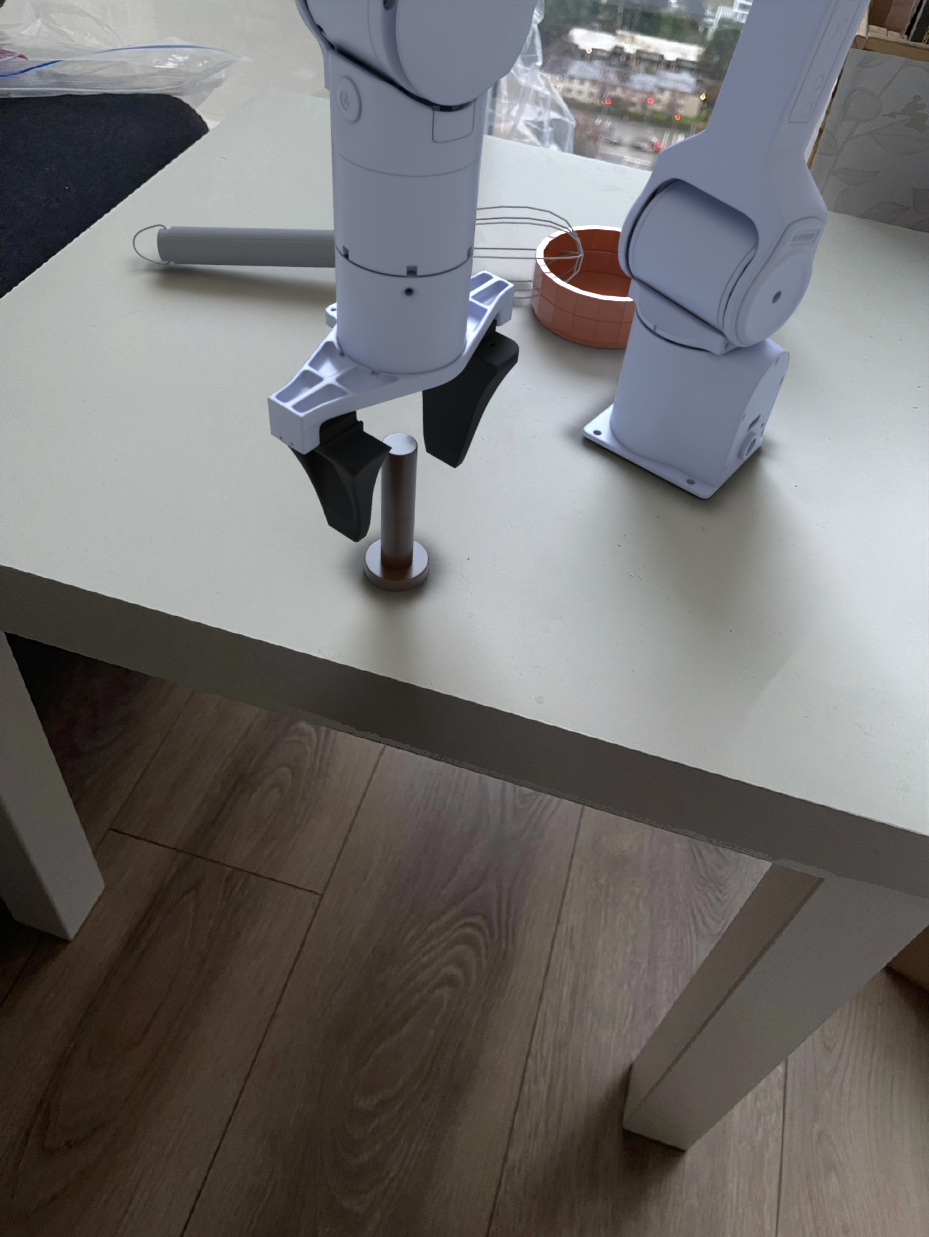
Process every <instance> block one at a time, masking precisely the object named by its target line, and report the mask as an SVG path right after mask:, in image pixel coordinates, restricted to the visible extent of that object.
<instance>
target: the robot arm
mask: <svg viewBox="0 0 929 1237" xmlns="http://www.w3.org/2000/svg"><path fill="white" fill-rule="evenodd" d="M871 1H872V0H752V2H751V5H750V8H749V10H748V13H747V15H746V18H745V21H744V23H743V27H742V30H741V32H740V35H739V37H738V41H737V43H736V46H735V49H734V51H733V54H732V56H731V60H730V62H729V64H728V68H727V71H726V73H725V76H724V79H723V81H722V84H721V87H720V89H719V92H718V95H717V98H716V101H715V103H714V106H713V109H712V112H711V114H710V117H709V120H708V122H707V125H706V127H705V128H704V129H703V130H701V131H700V132H698V133H695V134H693V135H690V136H688V137H686V138H684V139H681V140H679V141H676V142H674V143H672V144H670V145H669V146H667V147H665V148H663V149H661V150H660V152H658V154H657V157H656V160H655V162H654V166H653V169H652V171H651V174H650V176H649V178H648V180H647V181H646V184H645V186H644V187H643V189H642V191H641V193H640V194H639V196H638V197H637V198H636V199H635V201H634V202H633V204H631V207H630V208H629V210H628V212H627V214H626V215H625V218H624V221H623V223H622V226H621V234H620V239H619V246H618V259H619V264H620V266H621V268H622V270H623V271H624V273H625V274H626V275H628V276H629V277H631V278H632V279H631V284H630V289H629V293H628V297H629V298H631V299H632V300H633V301H634V302H635V304H636V308H635V312H634V317H633V321H632V325H631V330H630V334H629V338H628V343H627V347H626V348H625V352H624V356H623V360H622V365H621V368H620V374H619V377H618V378H619V379H618V383H617V387H616V391H615V396H614V400H613V403H611V404H610V405H608V407H606V409H604V410H603V411H601V413H599V414H598V415H597V416H595V417H594V418H593V419H592V420H590V422H588V423H587V424H586V425H585V426H584V427H582V436H583V437H584V438H586V439H587V440H590V441H592V442H593V443H596V444H598V445H600V446H601V447H603V448H605V449H606V450H609V451H610V452H612V453H614V454H616V455H618V456H620V457H621V458H624V459H626V460H627V461H629V462H632V463H633V464H635V465H637V466H639V467H641V468H643V469H645V470H647V471H648V472H651V473H653V474H654V475H656V476H658V477H660V478H662V479H664V480H666V481H667V482H670V483H671V484H673V485H675V486H677V487H679V488H681V489H682V490H685V491H686V492H689V493H691V494H693V495H694V496H696V497H698V498H699V499H703V500H707V499H709V498H711V497H712V496H713V495H714V494H715V493H716V492H717V491H718V490H719V489H720V488H721V487H722V486H723V484H725V483H726V481H728V480H729V479H730V478H731V476H732V475H733V474H734V473H735V472H736V471H738V469H740V468H741V466H742V465H743V464H744V463H745V462H746V461H747V460H748V459H749V458H750V457H751V456H752V455H753V454H754V453H755V452H756V451H757V450H758V449H759V448H760V446H761V445H762V444H763V442H764V437H763V434H764V431H765V429H766V427H767V424H768V421H769V419H770V416H771V413H772V411H773V408H774V406H775V403H776V401H777V398H778V396H779V393H780V390H781V388H782V385H783V382H784V379H785V378H786V377H785V376H786V374H787V371H788V369H789V364H790V351H788V350H787V349H785V348H784V347H782V346H781V345H779V344H778V343H776V342H775V341H774V340H772V339H771V338H770V337H772V336H773V335H775V333H777V332H778V331H779V330H780V329H781V328H782V327H783V326H784V325H785V324H786V323H787V322H788V321H789V320H790V318H791V317H792V316H793V314H794V313H795V311H796V310H797V309H798V307H799V306H800V304H801V302H802V301H803V298H804V296H805V294H806V292H807V290H808V287H809V284H810V282H811V279H812V274H813V265H814V260H815V256H816V253H817V251H818V250H817V249H818V247H819V243H820V240H821V238H822V236H823V233H824V231H825V228H826V225H827V223H828V220H829V219H830V216H829V215H830V214H829V211H828V209H827V208H828V207H827V206H826V203H825V201H824V199H823V197H822V194H821V193H820V190H819V188H818V186H817V184H816V182H815V180H814V178H813V175H812V173H811V171H810V169H809V166H808V164H807V161H806V158H805V152H806V150H807V147H808V146H809V143H810V141H811V139H812V136H813V134H814V132H815V129H816V128H817V125H818V123H819V120H820V118H821V116H822V113H823V111H824V108H825V107H826V105H827V102H828V100H829V97H830V95H831V93H832V90H833V88H834V86H835V84H836V82H837V78H838V77H839V74H840V72H841V70H842V67H843V66H844V63H845V60H846V58H847V56H848V53H849V51H850V49H851V47H852V44H853V42H854V40H855V37H856V36H857V33H858V31H859V28H860V27H861V24H862V22H863V19H864V18H865V15H866V13H867V10H868V9H869V8H868V7H869V5H870V3H871ZM538 2H539V0H294V4H295V7H296V10H297V11H298V13H299V16H300V18H301V19H302V21H303V23H304V25H305V26H306V28H307V29H308V31H309V32H310V33H311V34H312V36H313V37H314V38H315V39H316V41H317V43H318V45H319V47H320V51H321V54H322V59H323V78H324V82H323V83H324V88H325V89H327V90H328V91H329V116H330V119H329V120H330V146H331V147H330V149H331V152H330V153H331V179H332V181H331V183H332V184H331V185H332V208H333V209H332V210H333V211H332V216H333V217H332V218H333V230H334V240H335V268H334V269H335V270H334V272H335V273H334V274H335V276H334V277H335V302H333V303H332V304H330V305H328V306H327V307H326V308H324V318H325V319H324V320H325V325H326V326H328V328H331V330H330V331H329V332H328V333H327V335H326V336H325V337H324V338H323V340H322V341H321V342H320V343H319V345H317V347H316V348H315V350H314V351H313V352H312V353H311V354H310V356H309V357H308V358H307V360H305V362H304V363H303V365H302V366H301V367H300V368H299V369H298V371H297V372H296V373H295V375H294V376H293V377H292V378H291V379H290V380H289V381H288V382H287V383H286V384H285V385H283V386H282V387H281V388H280V389H279V390H277V391H276V392H274V393H273V394H271V395H269V396H268V397H267V408H268V417H269V428H270V430H269V431H270V435H271V436H272V437H274V438H276V439H277V440H279V441H280V442H282V443H283V444H285V445H286V446H287V447H288V448H289V450H290V451H291V452H292V453H293V455H294V456H295V458H296V459H297V461H298V462H299V463H300V465H301V466H302V469H303V470H304V471H305V473H306V475H307V477H308V479H309V481H310V483H311V485H312V487H313V489H314V491H315V493H316V495H317V498H318V500H319V503H320V505H321V509H322V511H323V514H324V517H325V520H326V522H327V525H328V526H329V528H330V527H331V529H333V530H335V531H337V532H338V533H340V534H341V535H343V536H344V537H345V538H347V539H349V540H350V541H352V542H354V543H359V542H360V541H362V540H363V539H364V538H366V537H367V535H368V533H369V530H370V527H371V521H372V511H373V510H372V509H373V508H372V507H373V498H374V497H373V496H374V490H375V487H376V486H375V485H376V482H377V479H378V476H379V473H380V471H381V466H382V464H383V462H384V460H385V458H386V456H387V455H388V453H389V452H390V450H391V449H392V447H390V446H389V445H387V444H385V443H383V442H382V440H380V439H378V438H377V437H375V436H373V435H371V434H370V433H368V432H366V431H365V429H364V428H365V427H364V421H363V420H358V418H357V417H358V412H357V411H359V410H362V409H363V410H364V409H366V408H369V407H373V406H376V405H379V404H383V403H386V402H389V401H393V400H396V399H399V398H403V397H406V396H409V395H410V396H411V395H413V394H416V393H420V392H421V399H422V401H421V402H422V437H423V442H424V443H423V444H424V447H425V448H424V449H425V452H426V453H427V454H429V455H430V456H432V457H434V458H436V459H437V460H439V461H441V462H442V463H444V464H446V465H448V466H449V467H451V468H453V469H457V468H458V467H460V465H462V464H463V462H464V460H465V459H466V456H467V454H468V452H469V449H470V447H471V444H472V442H473V440H474V437H475V434H476V431H477V429H478V428H479V424H480V423H481V420H482V418H483V415H484V413H485V411H486V409H487V407H488V405H489V403H490V402H491V400H492V398H493V396H494V395H495V393H496V391H497V390H498V388H499V387H500V385H501V384H502V382H503V381H504V380H505V378H506V377H507V376H508V374H509V373H510V372H511V370H512V369H513V368H514V367H515V366H516V365H517V364H518V362H519V356H520V346H519V344H518V342H516V341H515V340H514V339H512V338H510V337H509V336H507V335H504V334H502V333H501V332H498V331H497V327H502V326H503V325H505V324H506V323H508V322H510V321H512V316H513V308H514V300H515V299H514V297H515V289H516V284H515V283H513V282H508V281H506V280H507V279H504V278H502V277H500V276H498V275H497V274H494V273H491V272H489V271H487V270H485V269H483V270H480V271H479V272H477V273H475V274H473V266H474V265H473V263H474V258H473V256H474V252H475V249H474V247H475V238H476V237H475V236H476V226H477V225H476V223H477V221H476V219H477V213H478V212H477V211H478V210H477V208H478V201H479V200H478V199H479V191H480V190H479V189H480V178H481V166H482V155H483V154H482V153H483V145H484V134H485V124H486V111H487V110H486V109H487V98H488V90H489V89H491V88H492V87H493V86H494V85H495V84H496V83H497V82H498V81H499V80H501V79H503V78H504V77H506V76H507V75H508V74H510V72H511V71H512V69H513V68H514V67H515V64H516V62H517V61H518V59H519V57H520V55H521V53H522V51H523V48H524V47H525V44H526V42H527V38H528V37H529V36H528V35H529V32H530V30H531V27H532V22H533V18H534V14H535V11H536V7H537V5H538ZM472 274H473V275H472Z"/></svg>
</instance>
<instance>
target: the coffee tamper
mask: <svg viewBox="0 0 929 1237" xmlns="http://www.w3.org/2000/svg"><path fill="white" fill-rule="evenodd" d="M381 441H382V442H383V443H385V444H387V445H389V446H390V447H392V449H391V450H390V452H389V453H388V455H387V456H386V458H385V460H384V462H383V464H382V466H381V468H380V538H379V539H377V540H375V541H374V542H372V543H371V544H370V545H368V547H367V548H366V550H365V553H364V556H363V567H364V568H363V569H364V573H365V575H366V577H367V578H368V580H369V581H370V582H371V583H372V584H374V585H375V586H376V587H378V588H380V589H383V590H386V591H393V592H401V591H407V590H411V589H413V588H415V587H417V586H419V585H420V584H421V583H422V582H423V581H424V580H425V579H426V578H427V576H428V573H429V567H430V566H429V565H430V556H429V552H428V551H427V549H426V548H425V546H424V545H422V543H420V542H419V541H417V540H415V522H416V521H415V520H416V519H415V517H416V497H417V475H418V473H417V472H418V450H419V449H418V448H419V445H418V444H419V443H418V441H417V439H416V438H415V437H414V436H412V435H410V434H408V433H403V432H394V433H390V434H387V435H386V436H385V437H383V439H382V440H381Z"/></svg>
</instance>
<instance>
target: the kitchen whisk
mask: <svg viewBox="0 0 929 1237" xmlns="http://www.w3.org/2000/svg"><path fill="white" fill-rule="evenodd" d="M492 209H493V210H494V209H529V210H535V211H540V212H544V213H549V214H550V215H553V216H554V217H556V218H558V219H560V220H562V221H564V222H565V223H566V224H567V226H568V227H567V226H565V225H563V224H561V223H558V222H555V221H552V220H548V219H543V218H542V219H541V218H536V217H527V216H499V217H498V216H497V217H494V216H493V217H479V218H476V226H484V225H485V226H486V225H502V224H504V225H531V226H540V227H545V228H552V229H555V230H556V231H559V230H560V231H563V232H566V233H568V234H569V235H570V236H571V237H572V238H573V239H574V240H575V241H576V242H577V250H578V252H573V251H565V250H562V251H561V252H566V253H574V254H578V256H573V257H535V256H534V257H533V256H531V257H529V256H495V255H493V256H492V255H491V256H490V255H473V259H474V258H475V259H497V260H499V259H500V260H502V259H504V260H535V259H572V258H577V261H576V263H575V265H574V267H572V268H571V269H569V270H568V271H566V272H565V273H563V274H562V275H558V276H557V277H561V276H563V275H565V274H566V273H568V272H569V271H571V270H572V269H574V272H573V275H572V276H571V277H570V278H569V279H568V280H567V281H564V282H565V283H567V282H568V281H569V280H570V279H572V278H573V277H574V276H575V275H576V274H577V273H578V272H579V271H580V267H581V263H582V259H583V256H584V254H583V251H582V247H581V243H580V239H579V238H578V237H577V233H576V232H575V231H574V229H573V228H572V227H573V226H572V225H571V223H570V222H569V221H568V220H567V219H566V218H564V217H562V216H561V215H559V214H557V213H555V212H553V211H551V210H548V209H544V208H539V207H533V206H528V205H496V206H485V207H477V211H482V210H492ZM490 220H531V221H537V222H544V223H536V222H531V221H530V222H529V221H491V222H490ZM477 221H487V222H477ZM546 223H549V224H546ZM552 224H553V225H552ZM554 225H555V226H554ZM156 227H162V228H159V229H158V231H157V234H156V246H157V253H158V256H159V259H160V260H161V261H162V262H166V263H162V262H159V261H156V260H154V259H153V260H152V259H150V258H148V257H146V256H144V255H142V254H141V253H140V252H139V251H138V250H137V247H136V244H135V243H136V242H135V241H136V238H137V237H138V235H140V234H141V233H143V232H144V231H146V230H149V229H153V228H156ZM569 228H571V230H572V231H573V232H574V233H573V232H572V231H571V230H570V229H569ZM563 229H567V230H568V231H569V232H568V231H566V230H563ZM132 246H133V250H134V251H135V253H136V254H137V255H138V256H139V257H140V258H142V259H144V260H145V261H148V262H149V263H150V262H151V263H154V264H157V265H160V266H168V265H169V264H170V263H171V262H172V263H173V264H175V265H195V266H196V265H197V266H200V265H201V266H233V267H234V266H235V267H238V266H239V267H240V266H241V267H275V268H277V267H278V268H279V267H280V268H285V267H286V268H318V269H321V268H323V269H324V268H325V269H335V240H334V229H312V228H311V229H310V228H304V229H303V228H271V227H270V228H266V227H225V226H223V227H222V226H220V227H219V226H184V225H183V226H180V225H179V226H178V225H173V226H170V228H167V227H166V226H165V224H163V223H159V224H153V225H150V226H146V227H144V228H142V229H140V230H139V231H137V232H136V233H135V234H134V236H133V238H132ZM536 249H537V248H528V247H525V248H524V247H523V248H522V247H475V246H474V250H492V251H493V250H495V251H496V250H497V251H498V250H499V251H533V252H534V251H535V252H536ZM580 250H581V251H580ZM580 257H581V260H580V264H579V268H578V271H576V267H577V264H578V261H579V258H580ZM575 271H576V272H575ZM505 280H506V281H508V282H510V283H531V282H532V279H526V280H517V279H516V280H515V279H514V280H512V279H510V280H509V279H505ZM532 290H536V288H533V289H531V288H515V291H516V292H530V291H532ZM526 299H530V295H529V296H514V300H526Z"/></svg>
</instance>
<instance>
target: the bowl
mask: <svg viewBox="0 0 929 1237" xmlns="http://www.w3.org/2000/svg"><path fill="white" fill-rule="evenodd" d="M571 227H572V228H573V229H574V231H575V232H576V233H577V237H578V238H579V239H580V243H581V247H582V251H583V254H584V256H583V259H582V263H581V267H580V271H579V272H578V273H577V274H576V275H575V276H574V277H573V278H572V279H570V280H569V281H568V282H567V283H565V282H564V281H567V280H568V279H569V278H570V277H571V276H572V275H573V272H574V269H572V270H571V271H569V272H568V273H566V274H565V275H563V276H561V277H557V276H558V275H562V274H563V273H565V272H566V271H568V270H569V269H571V268H572V267H574V265H575V263H576V261H577V258H572V259H533V260H534V261H533V268H532V275H531V280H532V282H530V289H533V288H536V290H532V291H529V296H530V298H529V299H530V300H529V302H530V305H531V306H532V310H533V312H534V315H535V316H536V318H537V320H539V322H540V323H541V324H542V325H543V326H544V327H545V328H546V329H548V330H549V331H551V332H552V333H554V334H556V335H557V336H558V337H561V338H563V339H565V340H567V341H570V342H573V343H575V344H579V345H583V346H587V347H592V348H599V349H612V350H613V349H626V347H627V343H628V338H629V334H630V330H631V325H632V321H633V317H634V312H635V308H636V304H635V302H634V301H633V300H632V299H631V298H629V297H628V293H629V289H630V284H631V279H632V278H631V277H629V276H628V275H626V274H625V273H624V271H623V270H622V268H621V266H620V264H619V259H618V246H619V239H620V234H621V229H622V227H616V226H606V225H596V224H595V225H594V224H593V225H581V226H580V225H579V226H578V225H577V226H571ZM568 228H569V229H570V230H571V228H570V227H568ZM562 229H563V230H566V231H568V230H567V229H565V228H562ZM571 231H572V230H571ZM568 232H569V231H568ZM572 232H573V231H572ZM573 233H574V232H573ZM535 249H536V251H535V253H534V257H573V256H578V254H574V253H566V252H561V251H562V250H565V251H573V252H578V250H577V242H576V241H575V240H574V239H573V238H572V237H571V236H570V235H569V234H568V233H566V232H563V231H560V230H556V231H554V232H552V233H551V234H549V235H547V236H546V237H544V238H543V239H542V240H541V241H540V243H539V245H538V246H537V247H536V248H535ZM580 251H581V250H580ZM580 260H581V257H580V258H579V261H578V264H577V267H576V271H578V268H579V264H580ZM576 271H575V272H576Z"/></svg>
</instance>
